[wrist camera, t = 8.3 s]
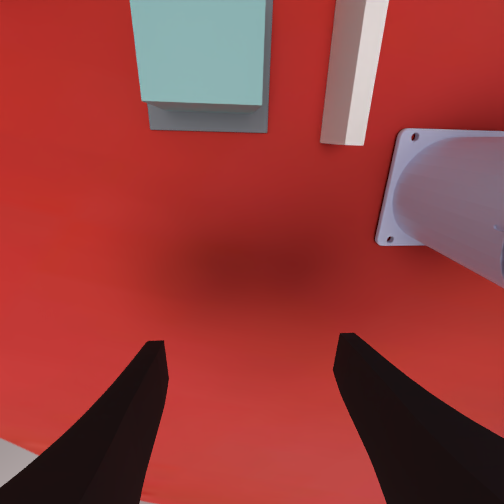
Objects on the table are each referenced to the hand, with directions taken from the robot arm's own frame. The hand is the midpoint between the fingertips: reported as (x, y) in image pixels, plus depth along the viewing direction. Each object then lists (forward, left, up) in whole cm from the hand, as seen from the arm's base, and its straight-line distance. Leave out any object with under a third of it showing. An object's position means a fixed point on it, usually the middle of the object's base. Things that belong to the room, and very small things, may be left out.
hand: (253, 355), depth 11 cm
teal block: (+2, -12, -10) cm, 15 cm away
